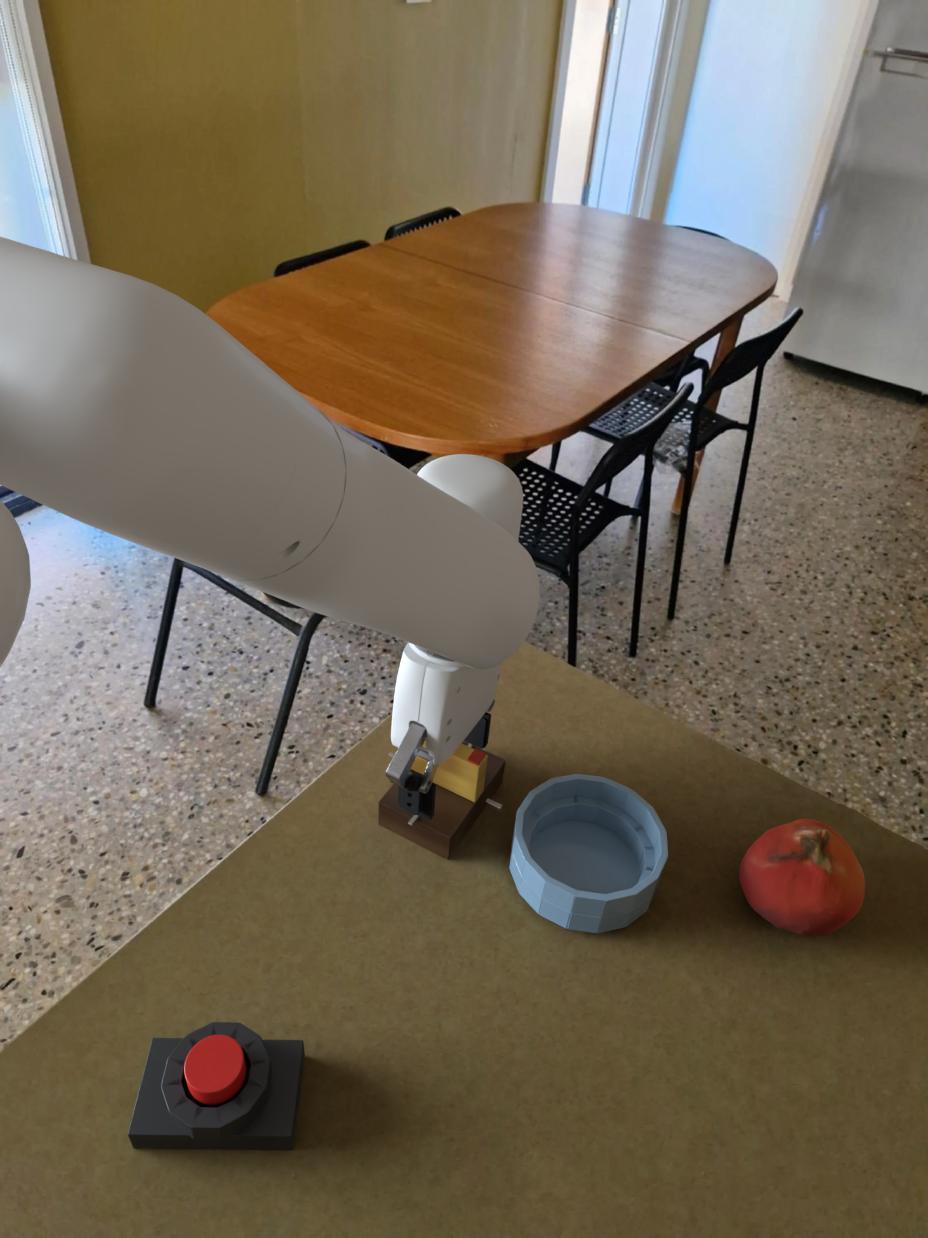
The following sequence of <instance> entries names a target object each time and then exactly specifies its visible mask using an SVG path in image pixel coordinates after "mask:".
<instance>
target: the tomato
mask: <svg viewBox="0 0 928 1238" xmlns="http://www.w3.org/2000/svg"><path fill="white" fill-rule="evenodd" d="M738 877H739V883H740V886H741V890H742V892H743V895H744V896H745V899H746V901H747V903H748V905H749V906H750V908H752V910H753V911H754V912H756V913H757V915H759V916H760V917H761V918H762V919H764V920H766V921H767V922H768V923H770V924H771V925H773V926H774V927H776V928H777V929H781V930H783V931H788V932H791V933H795V934H797V935H800V936H804V937H813V936H827V935H831V934H832V933H835V932H836V931H838V930H839V929H840V928H841V927H843V926H845V925H846V924H847V923H849V922H850V921H851V920H852V919H853V918H854V917H855V916H856V915H857V914H858V913H859V912H860V910H861V908H862V907H863V902H864V899H865V893H866V879H865V878H866V877H865V873H864V871H863V868H862V866H861V864H860V862H859V860H858V858H857V856H856V854H855V853H854V850H853V848H852V846H851V845H850V843H849V842H848V841H847V840H846V839H845V838H844V837H843V836H842V835H841V834H840V833H839V832H838V831H836V830H834V828H832V827H831V826H829V825H828V824H827V823H825V822H823V821H821V820H817V819H813V818H798V819H795V820H793V821H791V822H787V823H785V824H784V823H783V824H781V825H777V826H774V827H772V828H770V829H768V830H767V831H765V832H764V833H763V834H762V835H760V836H759V837H758V838H757V839H756V840H755V841H754V842H753V843H752V844H751V845H750V846H749V848H748V849H747V850H746V852H745V854H744V855H743V857H742V860H741V862H740V866H739V873H738Z"/></svg>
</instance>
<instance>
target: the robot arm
mask: <svg viewBox="0 0 928 1238" xmlns="http://www.w3.org/2000/svg"><path fill="white" fill-rule="evenodd" d="M0 486H2V487H4V488H6V489H8V490H10V491H13V492H15V493H16V494H19V495H21V496H23V497H26V498H28V499H29V500H32V501H34V502H36V503H38V504H40V505H43V506H45V507H47V508H49V509H51V510H53V511H56V512H58V513H60V514H61V515H64V516H67V517H68V518H71V519H73V520H75V521H77V522H80V523H81V524H85V525H87V526H89V527H92V528H95V529H96V530H97V529H98V530H100V531H102V532H104V533H106V534H110V535H112V536H115V537H117V538H120V539H122V540H125V541H128V542H131V543H134V544H136V545H139V546H141V547H144V548H147V549H148V550H152V551H154V552H157V553H160V554H162V555H165V556H169V557H172V558H175V559H178V560H180V561H182V562H184V563H187V564H191V565H193V566H196V567H198V568H201V569H204V570H206V571H209V572H211V573H215V574H216V575H218V576H221V577H223V578H225V579H228V580H231V581H234V582H236V583H238V584H241V585H244V586H246V587H249V588H251V589H253V590H256V591H259V592H261V593H264V594H267V595H270V596H272V597H275V598H277V599H279V600H282V601H285V602H288V603H289V604H292V605H294V606H297V607H300V608H302V609H304V610H307V611H310V612H313V613H315V614H319V615H322V616H326V617H328V618H332V619H336V620H339V621H342V622H346V623H349V624H353V625H355V626H360V627H363V628H366V629H370V630H372V631H376V632H378V633H381V634H385V635H386V636H390V637H392V638H395V639H398V640H401V641H404V642H406V645H405V647H404V648H403V651H402V655H401V659H400V663H399V668H398V672H397V675H396V681H395V686H394V687H395V688H394V695H393V705H392V715H391V727H390V741H391V744H392V746H394V747H396V748H397V749H396V751H395V753H394V754H395V755H394V757H392V759H391V761H390V763H389V764H388V766H387V768H386V770H385V775H384V776H385V777H386V778H387V779H388V780H389V781H390V783H392V784H396V785H398V805H399V806H400V807H402V808H403V809H404V810H405V811H407V812H408V813H410V814H413V815H418V816H420V817H422V818H424V819H426V820H428V821H429V820H431V819H432V817H433V816H434V809H435V795H436V785H435V784H434V783H432V782H433V779H434V777H435V774H436V771H437V769H438V766H439V764H441V763H444V762H445V761H447V760H448V759H449V758H450V757H451V755H452V754H453V753H454V752H455V751H456V749H457V748H458V747H459V746H460V744H461V743H462V742H463V741H465V742H467V743H470V744H472V745H474V746H476V747H478V748H480V749H485V748H486V747H487V746H488V744H489V737H490V730H491V722H492V721H491V720H492V713H490V712H491V711H492V710H493V709H494V706H495V703H496V699H495V698H496V695H497V692H498V689H499V682H500V676H501V667H502V666H501V665H502V664H503V663H504V662H506V661H507V660H508V659H510V658H511V657H512V656H513V655H514V654H515V653H516V652H518V650H519V649H520V648H521V646H522V645H523V644H524V642H525V641H526V639H527V638H528V636H529V634H530V633H531V630H532V629H533V626H534V624H535V621H536V618H537V615H538V610H539V607H540V597H541V593H540V592H541V585H540V577H539V573H538V569H537V566H536V564H535V561H534V560H533V557H532V555H531V554H530V553H529V551H528V550H527V549H526V547H524V546H523V545H522V544H521V543H520V542H519V538H520V530H521V524H522V523H521V522H522V515H523V506H524V491H523V487H522V483H521V481H520V479H519V477H518V476H517V474H515V472H514V471H513V470H512V469H511V468H510V467H508V466H507V465H505V464H504V463H502V462H500V461H498V460H496V459H493V458H490V457H487V456H483V455H479V454H472V453H471V454H470V453H457V454H449V455H448V454H447V455H445V456H441V457H438V458H435V459H433V460H431V461H429V462H427V463H426V464H425V465H424V466H422V468H421V469H420V470H419V471H418V472H417V474H416V473H414V472H413V471H412V470H410V469H408V467H406V466H404V465H402V463H400V462H398V461H396V460H395V459H394V458H391V457H390V456H388V455H387V454H385V453H383V452H381V451H380V450H378V449H376V448H374V447H372V446H371V445H370V444H368V443H366V442H364V441H362V440H360V439H358V438H357V437H355V436H353V435H352V434H350V433H349V432H348V431H347V430H345V429H344V428H342V427H341V426H339V424H337V423H336V422H335V421H333V420H332V419H331V418H330V417H329V416H328V415H326V414H325V413H324V412H323V411H322V410H320V409H319V408H318V407H317V406H316V405H315V404H313V403H312V402H311V401H310V400H309V399H307V398H306V397H305V396H304V395H303V394H302V393H300V392H299V391H298V390H297V389H296V388H294V387H293V386H292V385H291V384H289V383H288V382H287V381H286V380H285V379H284V378H282V377H281V376H280V375H279V374H278V373H277V372H275V371H274V370H273V369H272V368H271V367H269V366H268V364H266V363H265V362H264V361H262V360H261V359H260V358H259V357H258V356H256V355H255V353H253V352H252V351H251V350H250V349H248V348H247V347H246V346H245V345H244V344H242V343H241V341H239V340H238V339H237V338H235V336H233V335H232V333H231V334H230V332H229V331H227V330H226V329H225V328H224V327H222V326H221V325H220V324H219V323H218V322H217V321H215V320H214V319H212V318H211V317H210V316H209V315H207V314H205V312H203V311H202V310H201V309H199V308H197V307H196V306H195V305H193V304H192V303H190V302H189V301H187V300H185V299H184V298H182V297H181V296H179V295H177V294H175V293H174V292H172V291H169V290H167V289H165V288H163V287H161V286H159V285H156V284H155V283H152V282H149V281H146V280H144V279H141V278H138V277H135V276H133V275H130V274H127V273H123V272H120V271H116V270H113V269H110V268H107V267H103V266H99V265H97V264H93V263H92V264H91V263H89V262H85V261H81V260H78V259H75V258H73V257H72V258H71V257H68V256H66V255H65V256H64V255H61V254H58V253H55V252H52V251H51V250H50V251H49V250H46V249H43V248H39V247H35V246H32V245H29V244H26V243H23V242H19V241H16V240H13V239H10V238H7V237H3V236H0ZM31 578H32V577H31V560H30V554H29V549H28V547H27V544H26V541H25V538H24V536H23V533H22V530H21V528H20V525H19V523H18V522H17V520H16V518H15V517H14V515H13V513H12V512H11V510H9V508H8V507H7V505H5V504H4V502H3V501H2V500H1V499H0V668H1V667H2V665H3V664H4V662H5V661H6V659H7V657H8V656H9V655H10V652H11V650H12V648H13V646H14V644H15V642H16V639H17V637H18V634H19V632H20V630H21V627H22V625H23V623H24V620H25V617H26V613H27V608H28V602H29V598H30V593H31V587H32V579H31ZM425 740H426V747H427V748H425V747H422V746H423V744H424V742H425ZM417 756H419V757H421V758H423V759H425V760H427V761H428V764H427V767H426V769H425V772H424V775H423V774H421V773H419V772H416V771H414V770H412V769H411V767H412V764H413V763H414V761H415V759H416V757H417Z"/></svg>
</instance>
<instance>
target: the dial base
mask: <svg viewBox="0 0 928 1238" xmlns="http://www.w3.org/2000/svg"><path fill="white" fill-rule="evenodd" d="M462 744H464V745H466V746H468V747H470V748H473V749H477V750H479V751H481V752H483V753H485V754H486V755H488V759H487V767H486V775H485V783H484V791H483V792H482V794H481V795H480V796H479V798H478V799H477V801H476V802H472V801H470V800H468V799H466V798H464V797H462V796H460V795H458V794H456V793H454V792H452V791H450V790H448V789H446V788H443V787H441V786H439V785H437V784H435V783H434V784H435V785H436V795H435V809H434V816H433V817H432V819H431V820H429V821H428V820H426V819H424V818H422V817H420V816H418V815H413V814H410V813H408V812H407V811H405V810H404V809H403V808H402V807H400V806H399V805H398V785H396V784H394V783H392V785H391V786H390V787H389V788H388V790H387V791H386V792H385V793H384V795H383V796H382V797H381V799H379V801H378V818H377V819H378V822H377V823H378V825H379V826H381V827H383V828H385V829H387V830H388V831H391V832H393V833H395V834H397V835H399V836H401V837H403V838H405V839H407V840H409V841H410V842H412V843H415V844H416V845H419V847H422V848H424V849H425V850H428V851H430V852H432V853H433V854H435V855H438V856H440V857H441V858H443V859H445V860H447V861H448V860H450V858H451V857H452V856H453V855H454V853H455V852H456V850H457V849H458V847H459V846H460V845H461V843H462V841H463V840H464V838H465V837H466V836H467V834H468V833H469V832H470V830H471V828H472V827H473V825H474V824H475V822H476V821H477V820H478V818H479V817H480V816H481V814H482V812H483V811H484V810H485V808H486V807H487V805H488V804H489V805H491V806H493V807H495V808H497V809H499V810H501V809H502V807H503V804H501V803H499V802H497V801H494V799H493V800H492V798H493V797H494V795H495V794H496V792H497V791H498V790H499V788H500V787H501V786H502V784H503V782H504V776H505V774H504V773H505V768H506V759H504V758H502V757H500V756H497V755H495V754H493V753H491V752H489V751H487V750H485V749H483V748H478V747H476V746H474V745H472V744H470V743H468V742H465V741H463V742H462ZM394 755H395V753H394V752H392V751H390V752H389V753H388V756H389V757H391V758H393V757H394ZM432 783H433V782H432Z"/></svg>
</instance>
